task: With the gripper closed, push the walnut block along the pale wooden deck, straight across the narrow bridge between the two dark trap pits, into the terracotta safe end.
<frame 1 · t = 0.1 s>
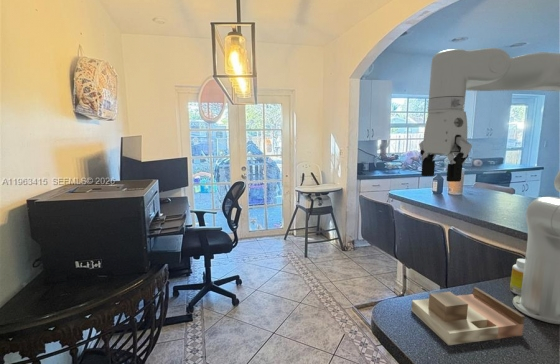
hand: (439, 178, 72), 37 cm above the counter, tool pointing down, fingers open, 9 cm apart
block: (446, 313, 75), point 3 cm above the counter, touching deck
supplement bottle: (521, 293, 90), on the counter
deck: (463, 322, 76), on the counter
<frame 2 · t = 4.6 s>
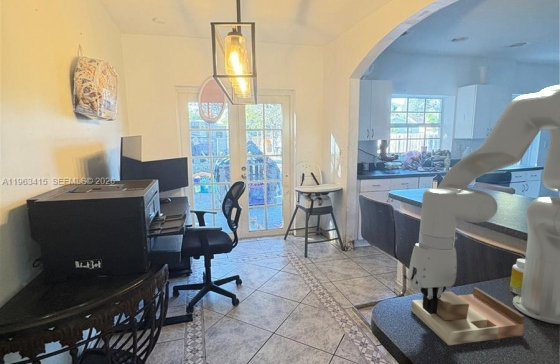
hand: (429, 310, 74), 4 cm above the counter, tool pointing down, fingers closed
block: (446, 312, 75), point 3 cm above the counter, touching deck, gripper
everything else where it was.
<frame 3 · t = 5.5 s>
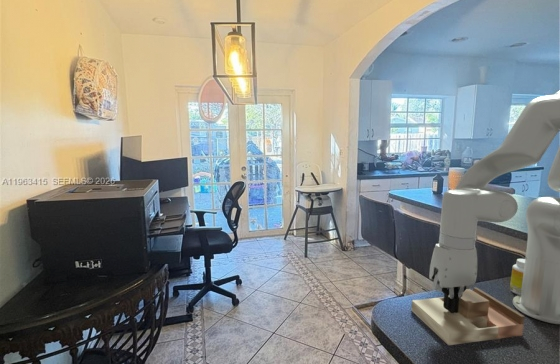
hand: (450, 309, 75), 4 cm above the counter, tool pointing down, fingers closed
block: (467, 310, 76), point 3 cm above the counter, touching gripper
everything else where it was.
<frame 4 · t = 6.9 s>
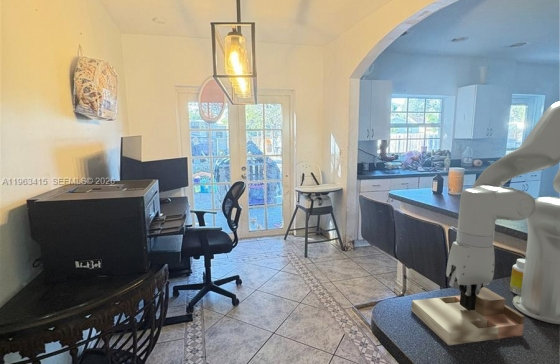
hand: (467, 307, 75), 4 cm above the counter, tool pointing down, fingers closed
block: (483, 308, 77), point 3 cm above the counter, touching deck, gripper
everything else where it was.
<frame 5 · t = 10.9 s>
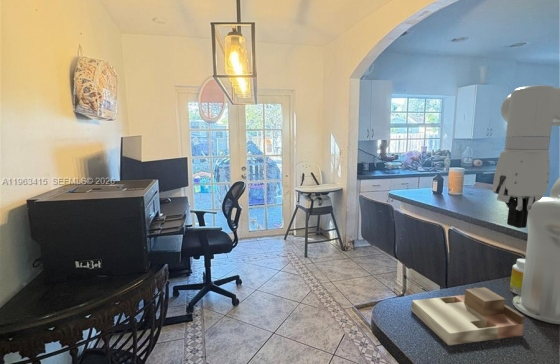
hand: (516, 226, 67), 27 cm above the counter, tool pointing down, fingers closed
block: (483, 308, 77), point 3 cm above the counter, touching deck
everything else where it was.
at the end: block 0.3 cm from the target spot on the deck, point 3.0 cm above the deck's base; block tilted 0° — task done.
